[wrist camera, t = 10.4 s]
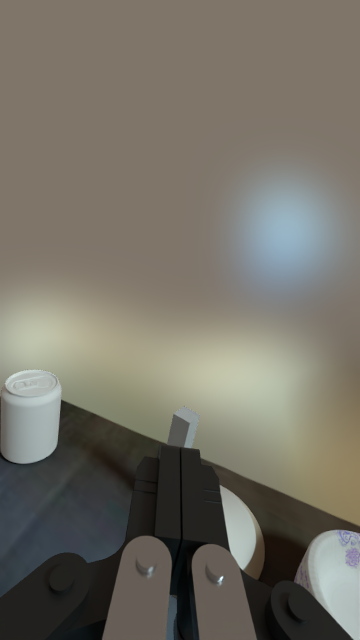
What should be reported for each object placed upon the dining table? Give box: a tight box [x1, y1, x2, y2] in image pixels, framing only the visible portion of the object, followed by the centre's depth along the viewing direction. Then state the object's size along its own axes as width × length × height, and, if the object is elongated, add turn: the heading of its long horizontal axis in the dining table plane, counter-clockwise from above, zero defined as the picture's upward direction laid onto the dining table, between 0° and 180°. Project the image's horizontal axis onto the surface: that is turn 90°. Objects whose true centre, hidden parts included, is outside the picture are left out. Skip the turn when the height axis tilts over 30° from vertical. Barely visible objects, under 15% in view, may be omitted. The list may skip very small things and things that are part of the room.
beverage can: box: [0, 370, 61, 464], centre depth 48 cm, size 8×8×12 cm
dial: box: [167, 406, 256, 571], centre depth 38 cm, size 14×13×14 cm
